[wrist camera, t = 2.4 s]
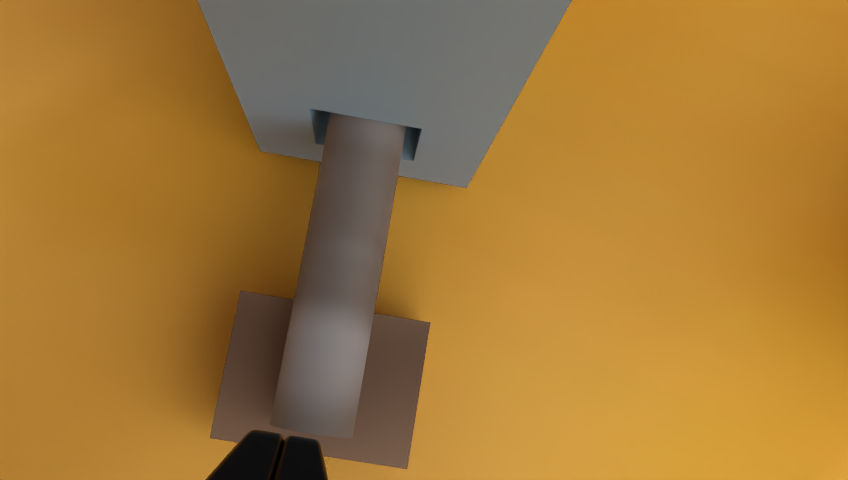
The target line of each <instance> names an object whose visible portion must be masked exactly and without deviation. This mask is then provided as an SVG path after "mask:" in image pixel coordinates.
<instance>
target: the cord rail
mask: <svg viewBox="0 0 848 480" xmlns="http://www.w3.org/2000/svg"><path fill="white" fill-rule="evenodd" d="M405 131H406V126H403V125H398V124H392V123H387V122H381V121H376V120H370V119H365V118H359V117H354V116H348V115H343V114H337V113H332V112H330V117H329V122H328V127H327V133H326V138H325V143H324V148H323V153H322V158H321V163H320V169H319V174H318V179H317V184H316V189H315V194H314V200H313V205H312V210H311V215H310V220H309V225H308V230H307V236H306V241H305V246H304V251H303V256H302V261H301V266H300V272H299V277H298V282H297V287H296V292H295V297H294V300H293V299H287V298H281V297H275V296H269V295H263V294H257V293H251V292H245V291H240V296H239V300H238V305H237V310H236V315H235V320H234V324H233V329H232V334H231V339H230V344H229V348H228V353H227V358H226V363H225V367H224V372H223V377H222V382H221V387H220V391H219V396H218V401H217V406H216V411H215V415H214V420H213V425H212V430H211V435H210V438H213V439H219V440H225V441H232V442H238V443H239V442H240V440H241V439H242V438H243V437H244V436H245V435H246V434H247V433H248V432H250V431H252V430H261V431H268V432H274V433H279V434H281V435H282V436H283V437H284V440H285V438H286V437H288V436H291V435H293V436H299V437H306V438H312V439H316V440H318V441H319V443H320V445H321V448H322V453H323V456H327V457H333V458H340V459H346V460H352V461H359V462H365V463H371V464H378V465H384V466H391V467H397V468H403V469H407V467H408V460H409V454H410V448H411V441H412V435H413V429H414V422H415V416H416V410H417V403H418V397H419V391H420V384H421V378H422V372H423V365H424V359H425V353H426V346H427V340H428V334H429V327H430V322H424V321H418V320H412V319H406V318H400V317H394V316H388V315H382V314H376V313H374V311H375V305H376V299H377V293H378V288H379V282H380V276H381V270H382V265H383V259H384V253H385V247H386V241H387V236H388V230H389V224H390V218H391V212H392V207H393V201H394V195H395V189H396V184H397V178H398V172H399V166H400V160H401V155H402V149H403V143H404V137H405Z"/></svg>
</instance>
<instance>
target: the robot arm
mask: <svg viewBox="0 0 848 480" xmlns="http://www.w3.org/2000/svg"><path fill="white" fill-rule="evenodd" d="M206 480H328V476H327V472H326V467H325V462H324V457H323V453H322V448H321V445H320V443H319V441H318V440H316V439H312V438H306V437H299V436H293V435H291V436H288V437H286V438H285V440H284V437H283V436H282V435H281V434H279V433H274V432H268V431H261V430H252V431H250V432H248V433H247V434H246V435H245V436H244V437H243V438H242V439H241V440H240V442H239V443H238V444H237V445H236V446H235V447H234V448H233V449H232V451H231V452H230V453H229V454H228V455H227V456H226V457H225V458H224V459H223V461H222V462H221V463H220V464H219V465H218V466H217V467H216V468H215V470H214V471H213V472H212V473H211V474H210V475H209V476H208V477H207V479H206Z"/></svg>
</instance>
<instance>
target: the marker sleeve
mask: <svg viewBox="0 0 848 480" xmlns="http://www.w3.org/2000/svg"><path fill="white" fill-rule="evenodd" d="M571 1H572V0H198V3H199V5H200V8H201V10H202V12H203V15H204V17H205V20H206V22H207V24H208V27H209V29H210V32H211V34H212V36H213V39H214V41H215V44H216V46H217V48H218V51H219V53H220V56H221V58H222V60H223V63H224V65H225V68H226V70H227V72H228V75H229V77H230V80H231V82H232V85H233V87H234V89H235V92H236V94H237V97H238V99H239V101H240V104H241V106H242V109H243V111H244V113H245V116H246V118H247V121H248V123H249V125H250V128H251V130H252V133H253V135H254V137H255V140H256V142H257V145H258V147H259V149H260V151H262V152H268V153H273V154H279V155H284V156H290V157H296V158H301V159H307V160H312V161H318V162H321V158H322V153H323V148H324V143H325V138H326V133H327V127H328V122H329V117H330V112H332V113H337V114H343V115H348V116H354V117H359V118H365V119H370V120H376V121H381V122H387V123H392V124H398V125H403V126H406V131H405V137H404V143H403V149H402V155H401V160H400V166H399V172H398V176H402V177H408V178H413V179H419V180H425V181H430V182H436V183H441V184H447V185H453V186H458V187H464V188H467V186H468V184H469V183H470V181H471V179H472V177H473V176H474V174H475V172H476V170H477V168H478V167H479V165H480V163H481V161H482V159H483V158H484V156H485V154H486V152H487V151H488V149H489V147H490V145H491V143H492V142H493V140H494V138H495V136H496V135H497V133H498V131H499V129H500V127H501V126H502V124H503V122H504V120H505V118H506V117H507V115H508V113H509V111H510V110H511V108H512V106H513V104H514V102H515V101H516V99H517V97H518V95H519V94H520V92H521V90H522V88H523V86H524V85H525V83H526V81H527V79H528V78H529V76H530V74H531V72H532V70H533V69H534V67H535V65H536V63H537V61H538V60H539V58H540V56H541V54H542V53H543V51H544V49H545V47H546V45H547V44H548V42H549V40H550V38H551V37H552V35H553V33H554V31H555V29H556V28H557V26H558V24H559V22H560V20H561V19H562V17H563V15H564V13H565V12H566V10H567V8H568V6H569V4H570V3H571Z"/></svg>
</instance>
